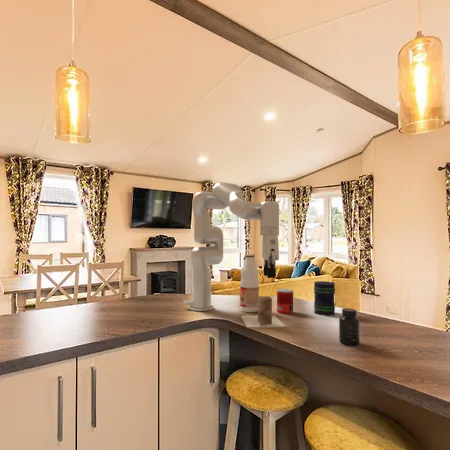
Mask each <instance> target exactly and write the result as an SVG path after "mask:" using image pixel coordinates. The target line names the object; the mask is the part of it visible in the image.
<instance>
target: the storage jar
mask: <svg viewBox="0 0 450 450" xmlns="http://www.w3.org/2000/svg"><path fill="white" fill-rule="evenodd" d="M313 283H314V285H313V290H314V291H313V293H314V302H313V308H314V309H313V310H314V314H315V315H319V316H323V315H326V316H325V317H330V315H332V316H335V315H334V314H335V310H336V304H335V295H336V292H335V291H336V289H335V288H336V286H335V282H332V281H322V280H321V281H319V280H317V281H314V282H313Z"/></svg>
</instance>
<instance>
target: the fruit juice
mask: <svg viewBox="0 0 450 450" xmlns="http://www.w3.org/2000/svg"><path fill="white" fill-rule="evenodd" d="M244 259H245V260H244V265H243V266H242V268H241V270H240V276H241V278H240V285H239V287H240V288H239V289H240V290H239V293H240V294H239V296H240V297H239V309H240V311H241V312H244V313H256V312H258V297H260V293H259V291H260V290H259V289H260V284H259V280H258V279H259V278H258V277H259V273H260V272H259V269H258V267H257V266H256V263H255V254H244Z"/></svg>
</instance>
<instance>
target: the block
mask: <svg viewBox="0 0 450 450" xmlns="http://www.w3.org/2000/svg"><path fill="white" fill-rule="evenodd" d="M257 315H258V323H259V325H260V326H266V325H272V315H273V298H272V297H270V296H259V297H258V311H257Z"/></svg>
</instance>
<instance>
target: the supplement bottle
mask: <svg viewBox="0 0 450 450" xmlns="http://www.w3.org/2000/svg"><path fill="white" fill-rule="evenodd" d="M357 312H358V311H357V310H356V309H355V308H352V307H351V308H349V307H345V308H342V309H341V316H340V317H339V319H338V323H339V324H338V325H339V327H338V330H339V331H338V333H339V334H338V336H339V337H338V339H339V343H340V344H341V345H342V346H347V347H359V345H360V343H361V342H360V341H361V340H360V339H361V335H360V334H361V331H360V329H361V328H360V327H361V325H360V323H361V322H360V319H359V317H357V316H358V314H357Z"/></svg>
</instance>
